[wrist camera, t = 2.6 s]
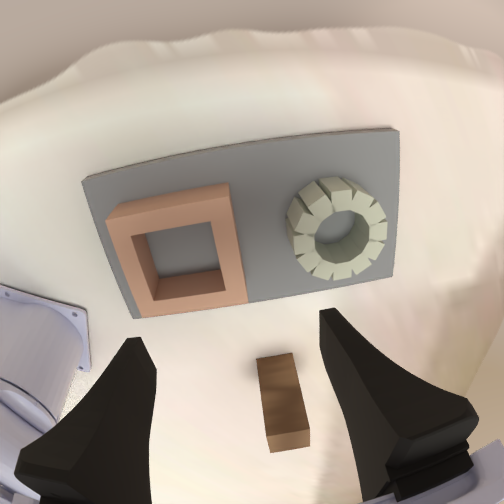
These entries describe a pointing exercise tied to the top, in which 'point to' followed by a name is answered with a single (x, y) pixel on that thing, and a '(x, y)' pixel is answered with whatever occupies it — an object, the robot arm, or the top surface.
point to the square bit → (282, 404)
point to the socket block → (250, 220)
